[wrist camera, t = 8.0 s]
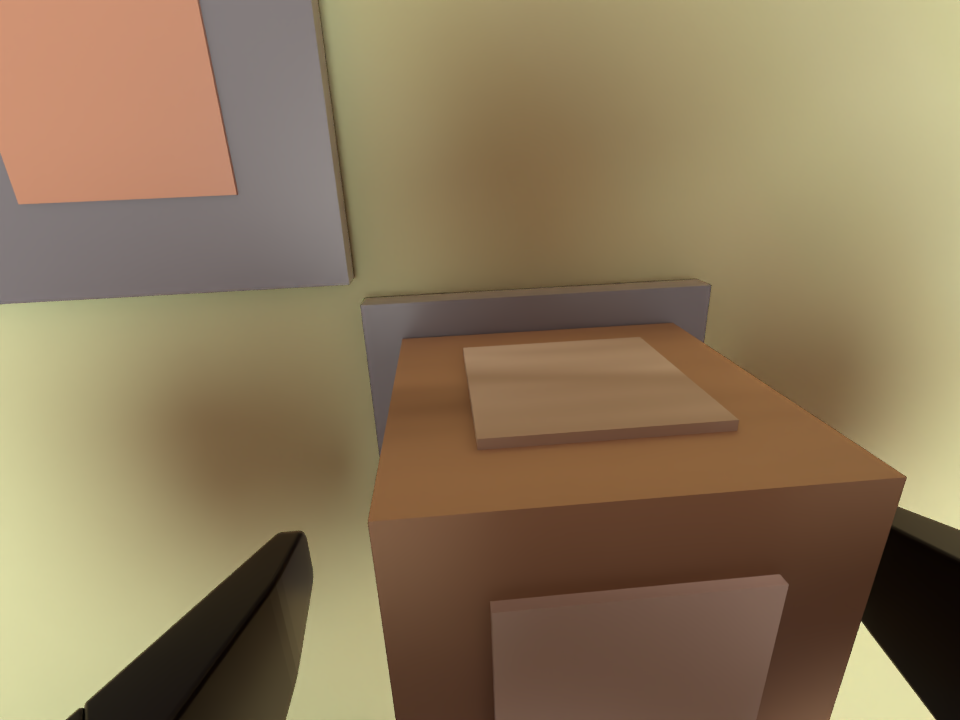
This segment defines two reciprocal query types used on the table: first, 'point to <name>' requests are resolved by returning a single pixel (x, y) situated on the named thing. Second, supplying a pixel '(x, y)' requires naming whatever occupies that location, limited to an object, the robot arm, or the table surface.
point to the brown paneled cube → (616, 533)
